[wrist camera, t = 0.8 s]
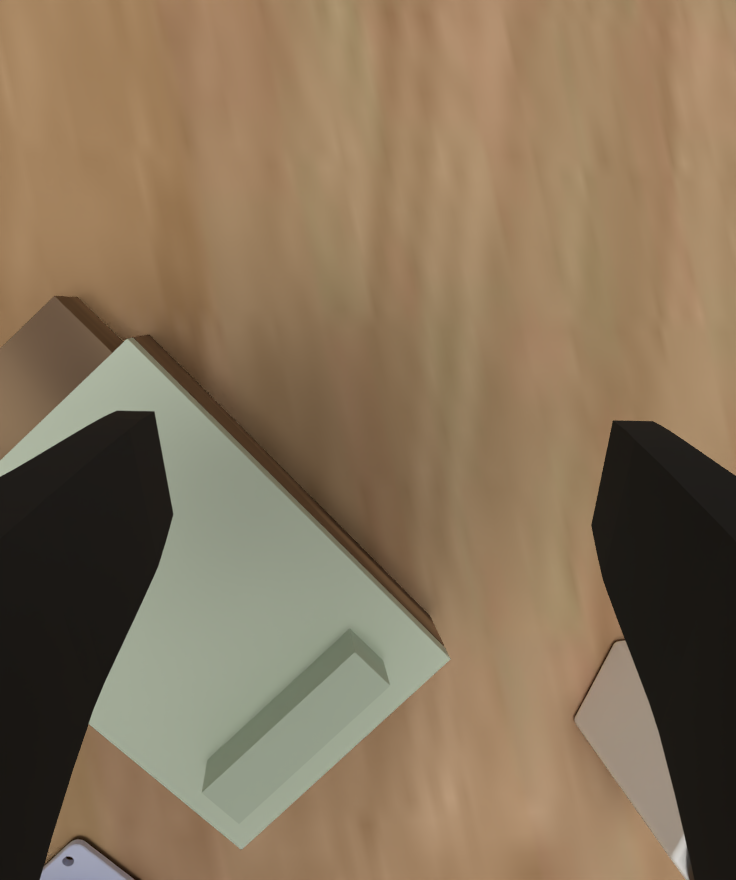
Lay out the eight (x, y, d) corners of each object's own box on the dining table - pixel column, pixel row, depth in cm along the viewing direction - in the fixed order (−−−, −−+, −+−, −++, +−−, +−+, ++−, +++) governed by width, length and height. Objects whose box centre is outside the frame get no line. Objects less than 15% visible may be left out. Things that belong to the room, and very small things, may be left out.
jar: (741, 617, 35) (967, 770, 24) (739, 762, 37) (951, 972, 25) (569, 641, 34) (716, 812, 23) (574, 789, 36) (715, 1019, 24)
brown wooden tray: (156, 866, 34) (144, 919, 31) (-212, 576, 30) (-266, 605, 27) (430, 616, 33) (444, 645, 30) (95, 280, 29) (73, 277, 26)
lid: (242, 832, 31) (238, 887, 28) (-93, 553, 27) (-139, 583, 24) (445, 647, 30) (462, 683, 27) (133, 337, 26) (114, 341, 24)
